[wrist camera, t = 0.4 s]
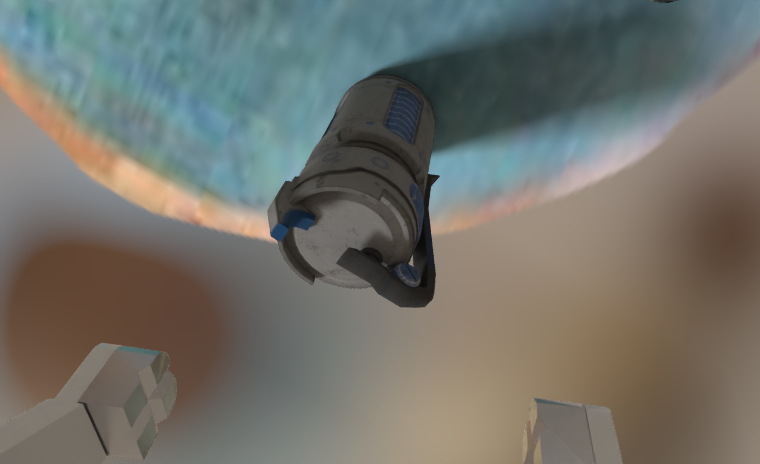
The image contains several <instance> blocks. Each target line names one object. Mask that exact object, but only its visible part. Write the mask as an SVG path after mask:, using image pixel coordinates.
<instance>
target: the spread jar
mask: <svg viewBox="0 0 760 464" xmlns="http://www.w3.org/2000/svg"><path fill="white" fill-rule="evenodd" d="M652 1H655V2H658V3H669V2H673V1H677V0H652Z"/></svg>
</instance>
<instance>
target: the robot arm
mask: <svg viewBox="0 0 760 464" xmlns="http://www.w3.org/2000/svg"><path fill="white" fill-rule="evenodd" d="M169 365H170V360H169V357H168V355H167V353H165V352H160V351H153V350H147V349H140V348H134V347H127V346H120V345H113V344H105V343H101V344H99V345H98V346H96V347H95V348H94V349H93V350H92V351H91V352H90V354H89V355H88V357H87V358H86V359H85V360H84V361H83V363H82V364H81V365H80V367H79V368H78V369H77V370H76V372H75V373H74V374H73V376H72V377H71V378H70V380H69V381H68V382H67V383H66V385H65V386H64V387H63V389H62V390H61V391H60V393H59V394H58V395H57V396H56V398H55V399H47V400H45V401H43V402H41V403H40V404H38V405H36V406H34V407H32V408H31V409H29V410H27V411H25V412H24V413H22V414H20V415H18V416H17V417H15V418H13V419H11V420H9V421H8V422H6V423H4V424H2V425H1V426H0V464H101V463H102V462H103V461H105V460H106V459H107V456H112V457H120V458H128V459H136V460H144V459H145V457H146V455H147V454H148V452H149V450H150V448H151V446H152V445H153V443H154V441H155V439H156V437H157V435H158V431H157V426H156V425H157V424H158V423H159V422H161V421H163V420H164V419H166V418H167V417H168V415H169V413H170V412H171V410H172V408H173V405H174V402H175V398H176V394H177V384H176V380H175V376H174V375H173V374H171V373H170V372H169V371H168V370H167V368H168V366H169ZM522 451H523V454H522V455H523V464H623V461H622V457H621V453H620V448H619V444H618V440H617V436H616V432H615V427H614V423H613V418H612V415H611V411H610V410H609V408H608V407H601V406H594V405H586V404H581V403H573V402H564V401H556V400H547V399H537V398H534V399H533V400H532V402H531V406H530V420H529V421H528V422H526V425H525V430H524V436H523V446H522Z"/></svg>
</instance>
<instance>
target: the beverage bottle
mask: <svg viewBox="0 0 760 464" xmlns="http://www.w3.org/2000/svg"><path fill="white" fill-rule="evenodd" d="M435 128H436V124H435V115H434V112H433V108H432V106H431V104H430V102H429V100H428V99H427V97H426V96H425V95H424V94H423V92H422V91H421V90H420V89H418V88H417V87H416V86H415V85H413V84H412V83H410V82H408V81H406V80H404V79H401V78H398V77H395V76H388V75H378V76H372V77H368V78H365V79H363V80H361V81H359V82H357V83H356V84H354V85H353V86H352V87H350V88H349V89H348V91H347V92H346V93H345V94H344V96H343V97H342V99H341V101H340V103H339V105H338V107H337V109H336V112H335V115H334V117H333V119H332V120H331V122H330V124H329V126H328V128H327V130H326V131H325V133H324V135H323V137H322V139H321V140H320V142H319V143H318V144H317V145H316V146H315V148H314V150H313V151H312V153H311V155H310V157H309V159H308V161H307V163H306V165H305V168H304V169H303V170H302V172H301V173H300V175H299V177H294V179H293V180H292V182H290V181H285V183H284V184H283V186H282V187H281V189H280V190H279V192H278V193H277V195H276V197H275V199H274V200H273V202H272V204H271V205H270V207H269V209H268V220H269V227H270V235H271V237H273V238H274V239H276V240H277V241H278V245H279V249H280V251H281V253H282V255H283V258H284V260H285V261H286V262H287V264H288V265H289V266H290V268H291V269H292V270H293V271H294V272H295V273H296V274H297V275H298V276H299V277H300V278H302V279H303V280H305V281H306V282H308V283H309V284H311V285H313V283H314V280H315V277H316V278H318V279H320V280H322V281H324V282H326V283H329V284H332V285H336V286H339V287H346V288H368V287H373V288H374V289H375V291H376V292H377V293H378V294H379V295H381V296H383V297H384V298H386V299H388V300H389V301H391V302H393V303H394V304H396V305H398V306H399V307H413V308H417V307H425V306H426V305H427V304H428V303H429V302H430V301H431V300H432V299H433V295H434V290H435V277H436V273H435V264H434V255H433V247H432V237H431V228H430V219H429V210H428V207H429V199H430V190H431V186H432V185H433V184H434V182H435V181H436V180H437V179H438V178H439V177H440V176H439V175H431V174H428V171H429V164H430V158H431V152H432V146H433V140H434V134H435ZM412 255H413V265H414V267H413V266H411V265H409V264H408V263H409V262H410V259H411V257H412Z"/></svg>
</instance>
